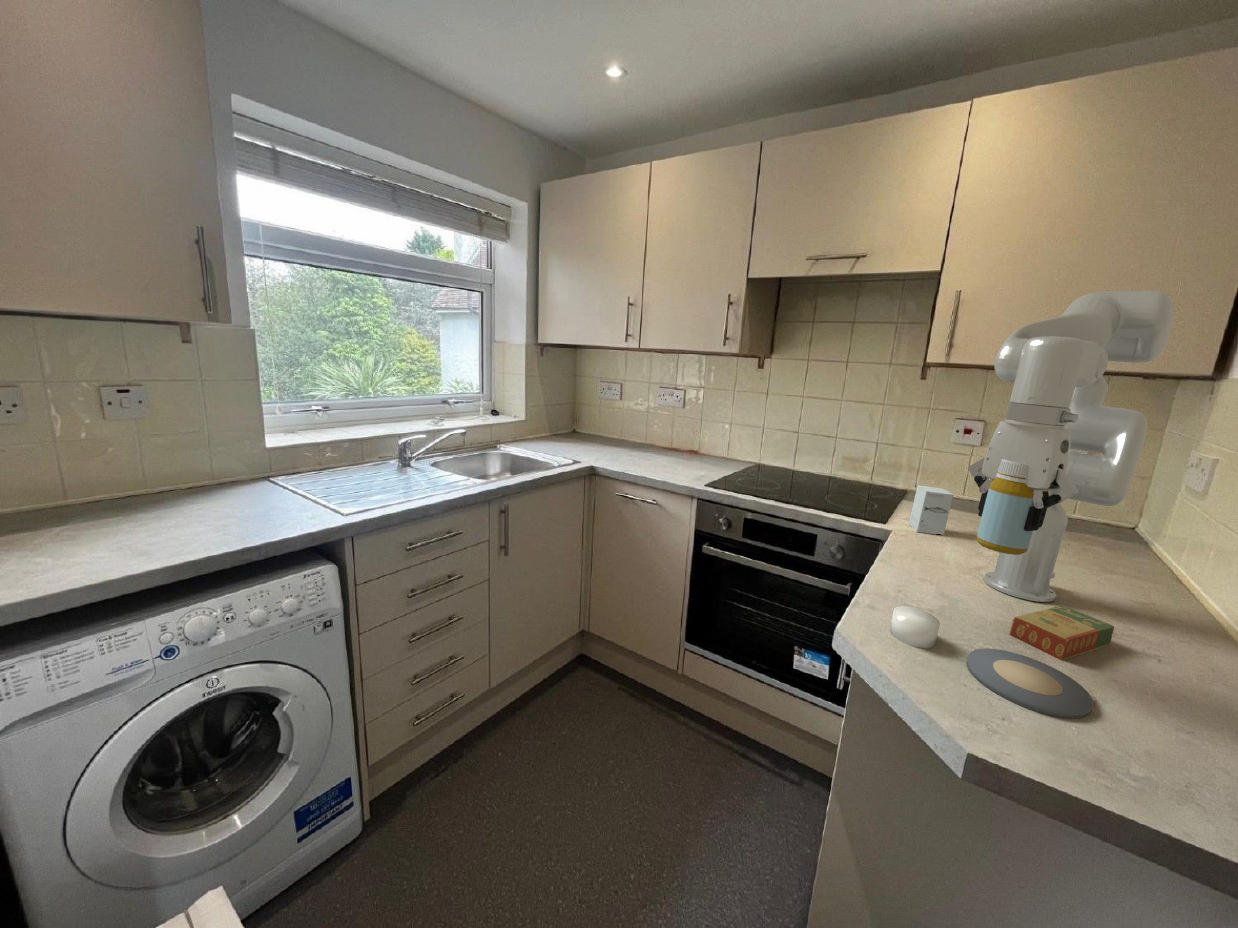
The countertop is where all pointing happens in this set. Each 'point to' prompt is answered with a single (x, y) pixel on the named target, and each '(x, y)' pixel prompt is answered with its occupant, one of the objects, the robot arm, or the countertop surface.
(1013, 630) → the carton
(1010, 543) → the bottle
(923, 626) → the white smooth round part
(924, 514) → the supplement box
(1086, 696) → the disc
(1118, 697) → the countertop surface
